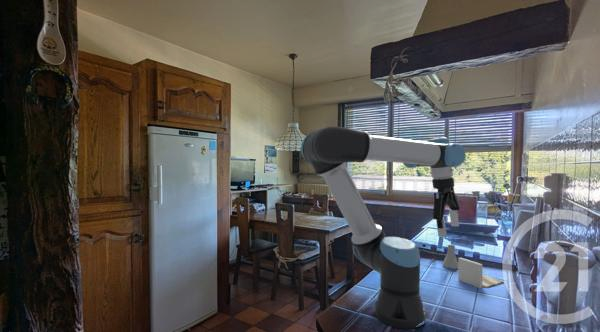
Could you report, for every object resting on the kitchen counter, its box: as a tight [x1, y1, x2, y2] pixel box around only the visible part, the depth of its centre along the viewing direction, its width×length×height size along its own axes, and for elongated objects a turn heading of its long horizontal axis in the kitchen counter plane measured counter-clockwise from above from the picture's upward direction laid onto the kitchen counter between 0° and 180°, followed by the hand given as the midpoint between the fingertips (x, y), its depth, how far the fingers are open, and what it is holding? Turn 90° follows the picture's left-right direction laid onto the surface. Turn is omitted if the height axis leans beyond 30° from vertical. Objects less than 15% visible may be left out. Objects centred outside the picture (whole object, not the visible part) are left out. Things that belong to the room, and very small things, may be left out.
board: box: [482, 274, 504, 289], centre depth 118 cm, size 11×11×1 cm
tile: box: [457, 257, 484, 289], centre depth 115 cm, size 2×9×9 cm, turn 25°
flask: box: [442, 244, 458, 270], centre depth 134 cm, size 7×7×10 cm
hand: (449, 230), depth 113 cm, fingers open, 13 cm apart
